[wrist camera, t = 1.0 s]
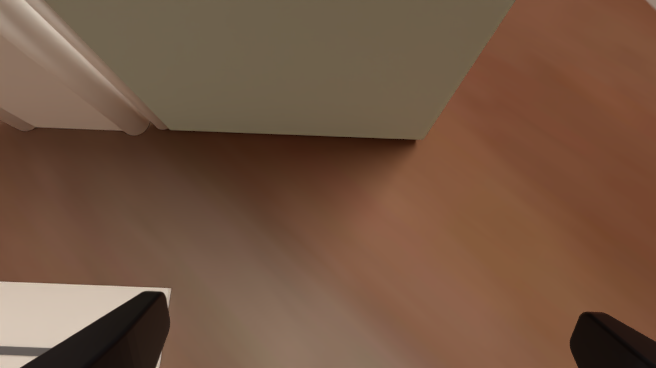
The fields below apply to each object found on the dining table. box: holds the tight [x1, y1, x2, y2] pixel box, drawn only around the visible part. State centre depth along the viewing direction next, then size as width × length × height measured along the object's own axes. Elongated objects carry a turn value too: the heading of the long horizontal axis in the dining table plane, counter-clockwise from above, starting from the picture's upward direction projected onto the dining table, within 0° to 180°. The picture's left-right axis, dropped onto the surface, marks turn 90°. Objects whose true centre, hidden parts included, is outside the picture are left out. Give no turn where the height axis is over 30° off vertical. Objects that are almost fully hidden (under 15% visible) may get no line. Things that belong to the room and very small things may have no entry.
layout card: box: [0, 282, 171, 368], centre depth 20 cm, size 10×7×1 cm
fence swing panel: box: [25, 0, 515, 140], centre depth 18 cm, size 17×1×12 cm, turn 88°
